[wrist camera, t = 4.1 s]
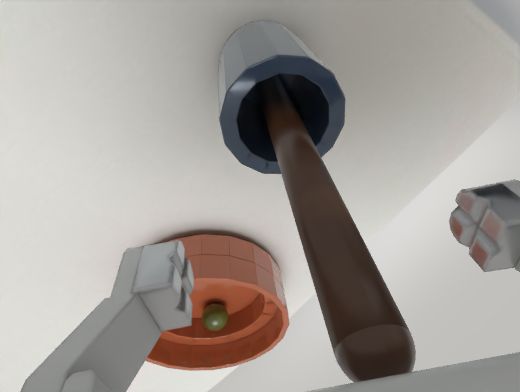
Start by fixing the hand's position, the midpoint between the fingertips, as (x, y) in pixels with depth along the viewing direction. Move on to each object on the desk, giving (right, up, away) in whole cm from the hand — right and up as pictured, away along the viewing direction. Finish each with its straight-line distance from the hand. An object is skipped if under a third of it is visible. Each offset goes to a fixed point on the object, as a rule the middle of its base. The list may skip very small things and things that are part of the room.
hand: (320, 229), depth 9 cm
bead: (-7, -13, +27) cm, 30 cm away
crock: (-2, +10, +13) cm, 17 cm away
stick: (-1, +10, +12) cm, 16 cm away
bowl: (-8, -9, +26) cm, 29 cm away
